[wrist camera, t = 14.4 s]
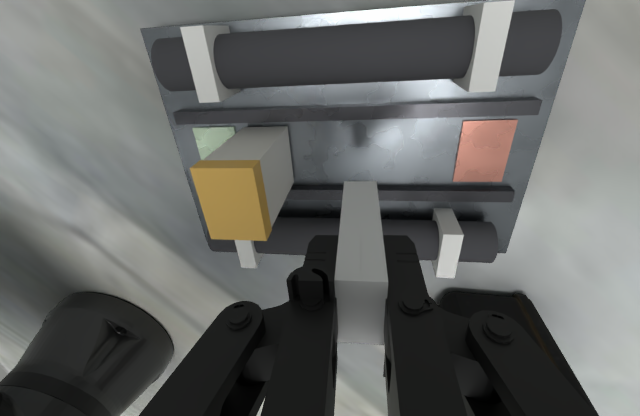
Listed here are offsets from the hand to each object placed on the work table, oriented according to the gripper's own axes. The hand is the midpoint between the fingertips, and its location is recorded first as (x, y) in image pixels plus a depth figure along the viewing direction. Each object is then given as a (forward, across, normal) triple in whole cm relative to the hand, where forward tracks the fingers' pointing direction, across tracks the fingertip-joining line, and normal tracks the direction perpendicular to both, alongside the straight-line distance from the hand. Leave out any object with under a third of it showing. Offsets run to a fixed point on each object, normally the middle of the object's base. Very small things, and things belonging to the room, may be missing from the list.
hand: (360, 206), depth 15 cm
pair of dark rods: (+7, -1, 0) cm, 7 cm away
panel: (+9, -1, 0) cm, 9 cm away
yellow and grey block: (+7, -6, 0) cm, 9 cm away
